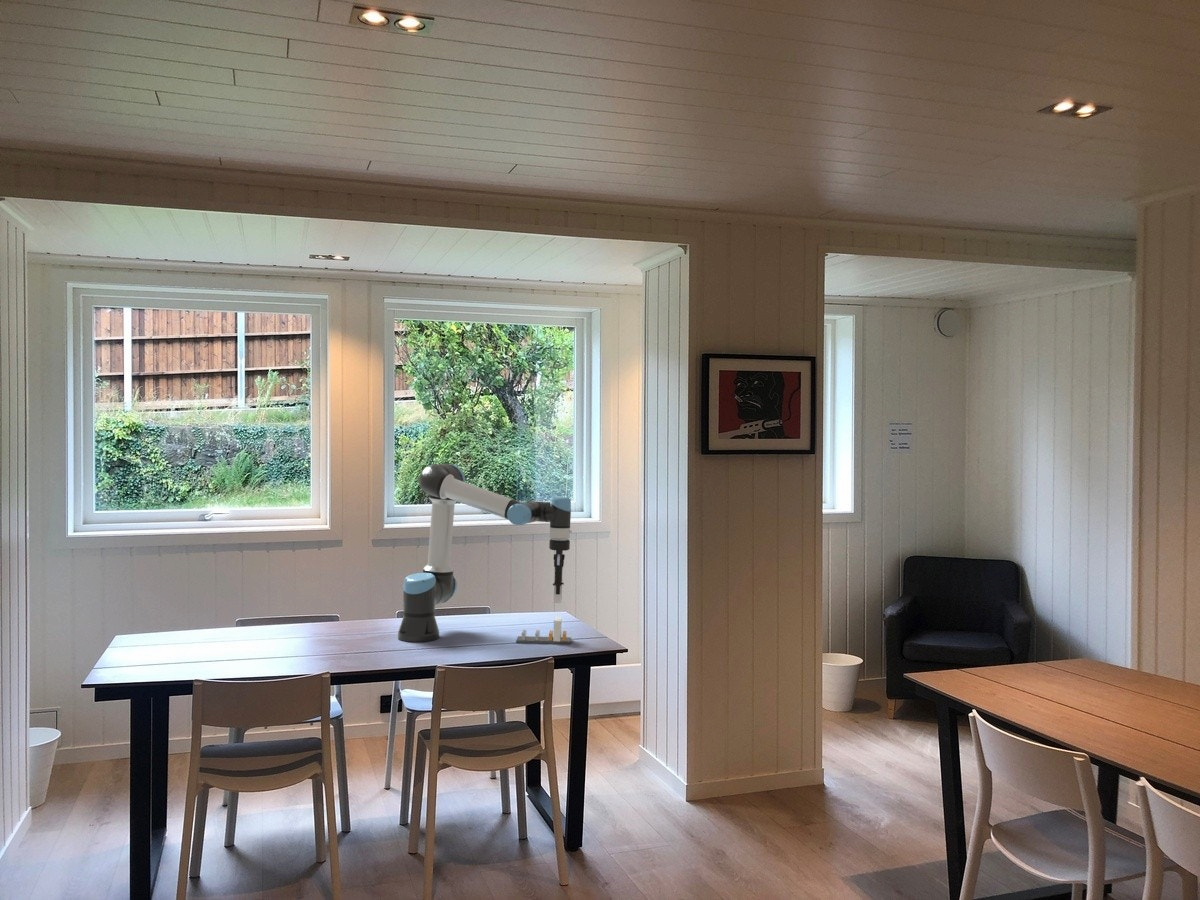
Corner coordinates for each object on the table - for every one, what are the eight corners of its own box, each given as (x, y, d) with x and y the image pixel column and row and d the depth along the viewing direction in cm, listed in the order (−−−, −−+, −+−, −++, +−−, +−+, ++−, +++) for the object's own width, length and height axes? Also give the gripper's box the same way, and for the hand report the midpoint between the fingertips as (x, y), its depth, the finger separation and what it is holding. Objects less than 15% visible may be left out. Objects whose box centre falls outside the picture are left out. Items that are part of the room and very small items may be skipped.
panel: (553, 641, 344) (553, 620, 344) (554, 636, 352) (554, 616, 352) (560, 641, 344) (560, 621, 344) (561, 636, 352) (561, 616, 352)
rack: (516, 643, 345) (516, 633, 345) (518, 638, 352) (518, 629, 352) (570, 644, 344) (571, 634, 344) (571, 640, 351) (571, 630, 351)
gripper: (569, 541, 341) (567, 606, 341) (570, 537, 354) (568, 599, 354) (548, 540, 341) (546, 605, 341) (550, 536, 354) (548, 599, 354)
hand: (557, 602), depth 348 cm, fingers closed
